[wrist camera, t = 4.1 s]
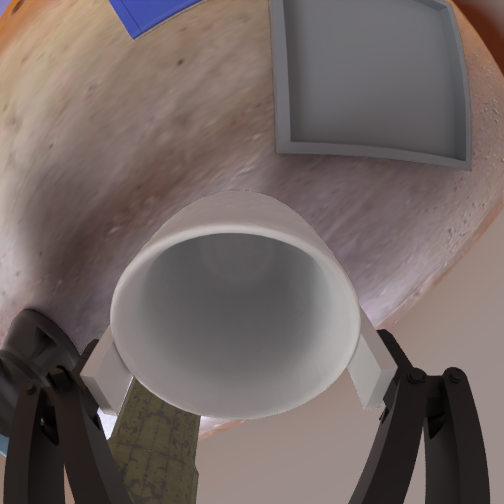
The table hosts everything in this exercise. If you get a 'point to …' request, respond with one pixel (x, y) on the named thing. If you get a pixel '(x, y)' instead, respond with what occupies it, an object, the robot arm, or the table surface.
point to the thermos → (155, 449)
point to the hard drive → (149, 13)
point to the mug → (235, 309)
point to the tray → (370, 80)
